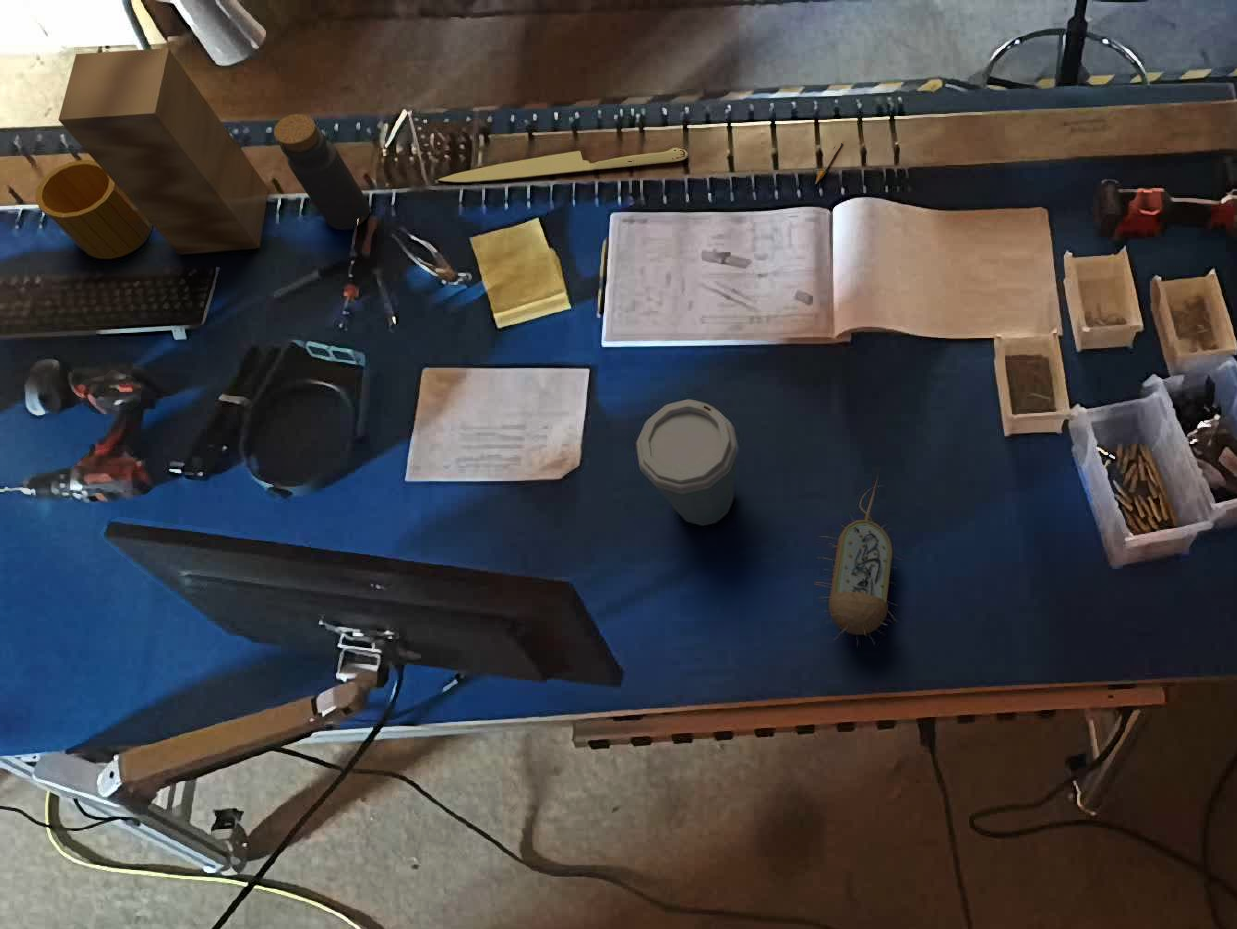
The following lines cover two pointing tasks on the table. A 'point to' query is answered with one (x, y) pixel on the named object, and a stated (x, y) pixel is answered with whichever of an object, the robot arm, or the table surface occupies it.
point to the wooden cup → (92, 210)
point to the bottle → (321, 172)
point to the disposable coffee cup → (690, 459)
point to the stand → (165, 149)
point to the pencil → (820, 176)
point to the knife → (559, 166)
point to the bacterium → (860, 576)
